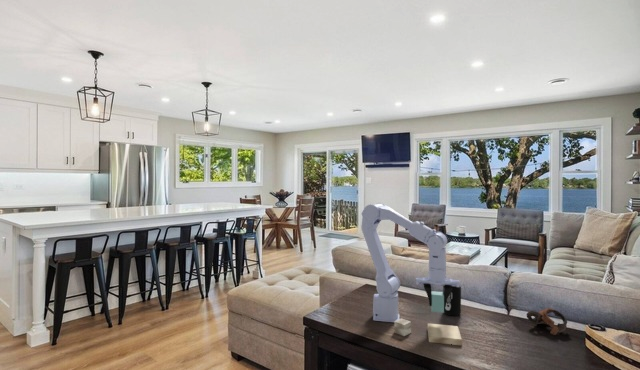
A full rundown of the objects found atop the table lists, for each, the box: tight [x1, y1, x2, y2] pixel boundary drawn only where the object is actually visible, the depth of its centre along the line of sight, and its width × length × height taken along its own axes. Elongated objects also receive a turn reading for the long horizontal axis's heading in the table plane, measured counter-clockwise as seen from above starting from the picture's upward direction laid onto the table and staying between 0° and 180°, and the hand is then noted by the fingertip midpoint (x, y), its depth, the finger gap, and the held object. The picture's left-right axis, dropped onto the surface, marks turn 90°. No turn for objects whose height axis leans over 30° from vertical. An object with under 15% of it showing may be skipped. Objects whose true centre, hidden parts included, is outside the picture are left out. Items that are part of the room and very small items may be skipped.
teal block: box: [430, 290, 445, 314], centre depth 122 cm, size 4×4×6 cm
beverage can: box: [444, 286, 462, 317], centre depth 136 cm, size 7×7×12 cm
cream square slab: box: [427, 322, 463, 346], centre depth 116 cm, size 10×10×2 cm
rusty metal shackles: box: [526, 308, 568, 336], centre depth 121 cm, size 12×10×8 cm
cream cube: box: [393, 317, 412, 337], centre depth 119 cm, size 4×4×4 cm
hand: (437, 305), depth 122 cm, fingers closed on teal block, 4 cm apart
